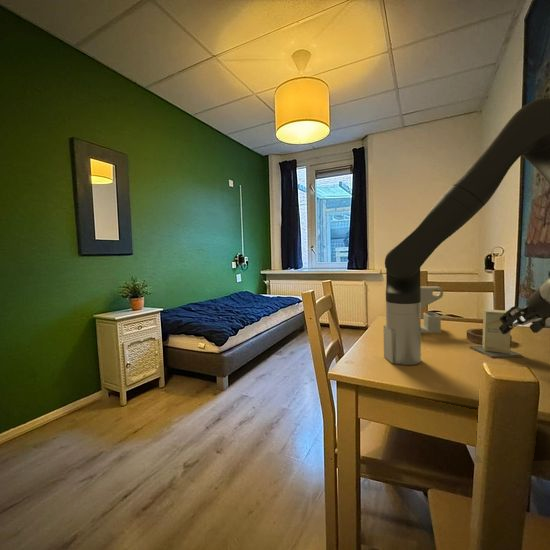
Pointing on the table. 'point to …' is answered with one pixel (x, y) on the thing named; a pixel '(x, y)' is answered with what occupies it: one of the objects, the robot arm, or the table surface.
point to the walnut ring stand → (478, 335)
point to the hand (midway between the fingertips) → (517, 330)
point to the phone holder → (430, 318)
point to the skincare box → (494, 332)
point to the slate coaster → (496, 354)
